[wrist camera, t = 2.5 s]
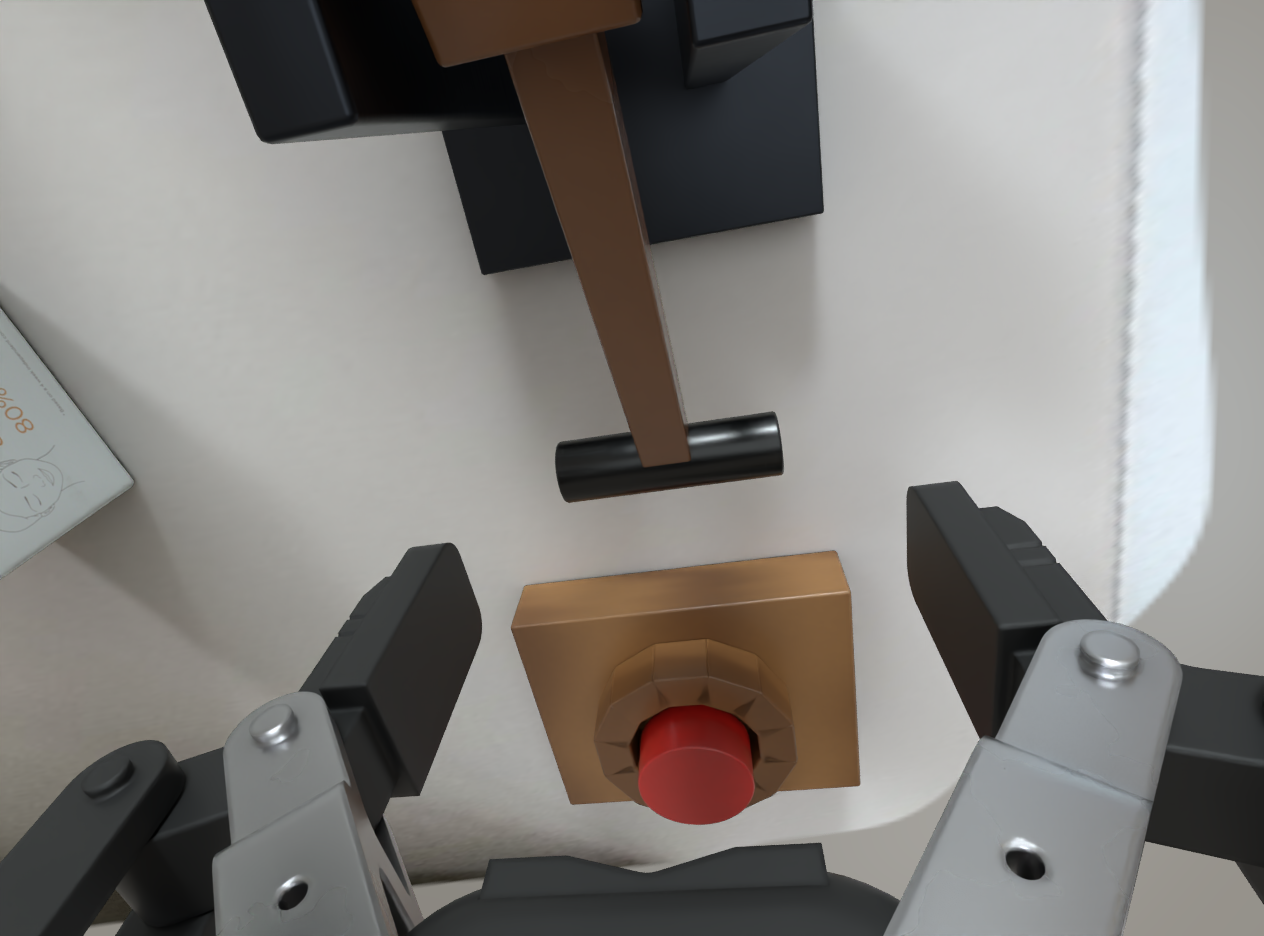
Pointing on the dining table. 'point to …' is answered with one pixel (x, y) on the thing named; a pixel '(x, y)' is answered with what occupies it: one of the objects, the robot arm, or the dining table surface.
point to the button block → (696, 668)
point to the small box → (45, 456)
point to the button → (695, 765)
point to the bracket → (497, 130)
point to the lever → (603, 242)
